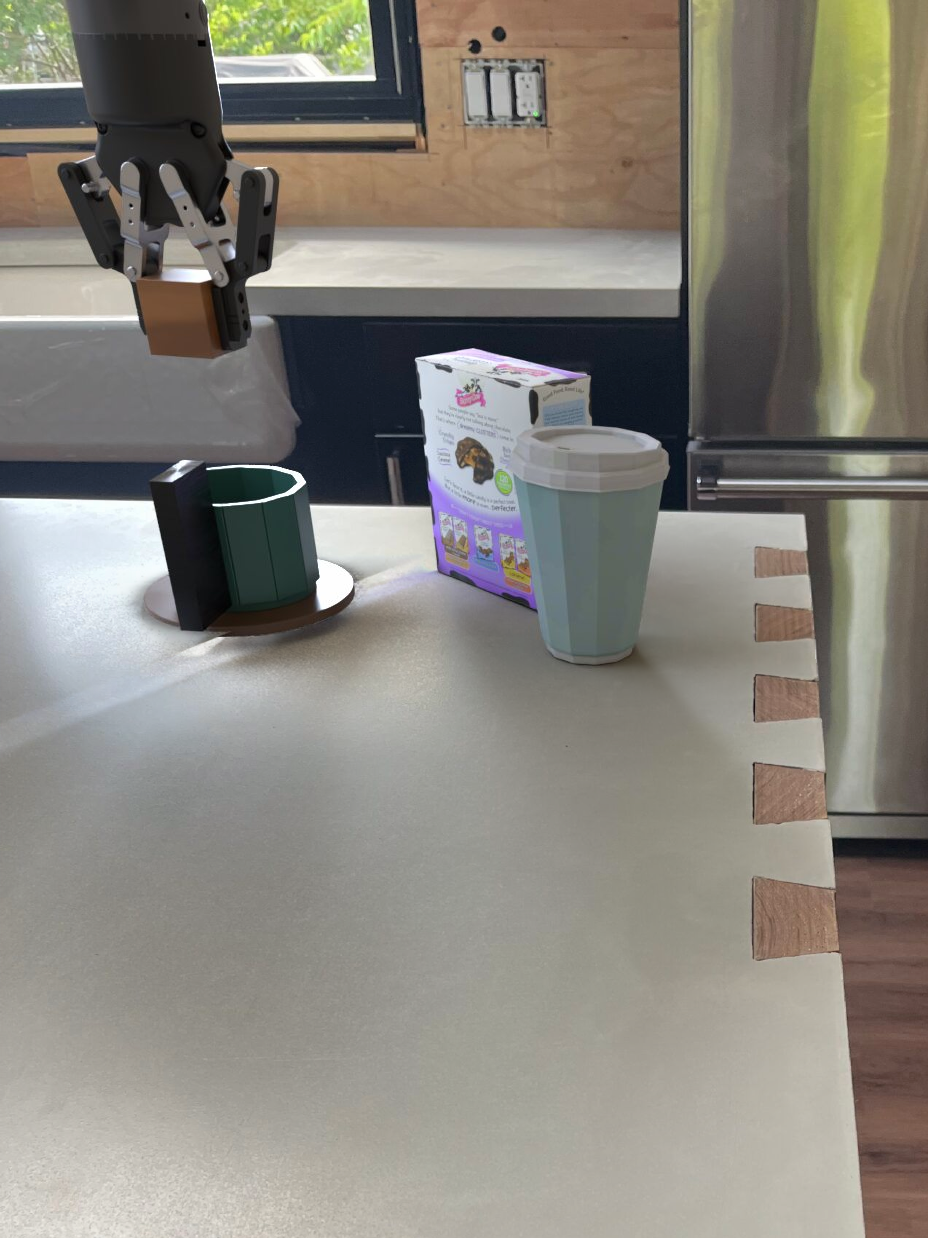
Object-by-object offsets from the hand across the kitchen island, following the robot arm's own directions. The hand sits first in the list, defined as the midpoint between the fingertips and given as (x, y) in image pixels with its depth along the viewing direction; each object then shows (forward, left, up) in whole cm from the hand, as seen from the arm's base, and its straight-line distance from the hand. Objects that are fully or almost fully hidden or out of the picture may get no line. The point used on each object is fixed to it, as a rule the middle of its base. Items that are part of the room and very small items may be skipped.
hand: (199, 344), depth 86 cm
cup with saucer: (+1, +2, -18) cm, 18 cm away
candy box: (+19, -9, -20) cm, 29 cm away
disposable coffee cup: (+12, -22, -20) cm, 32 cm away
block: (0, 0, 0) cm, 0 cm away
